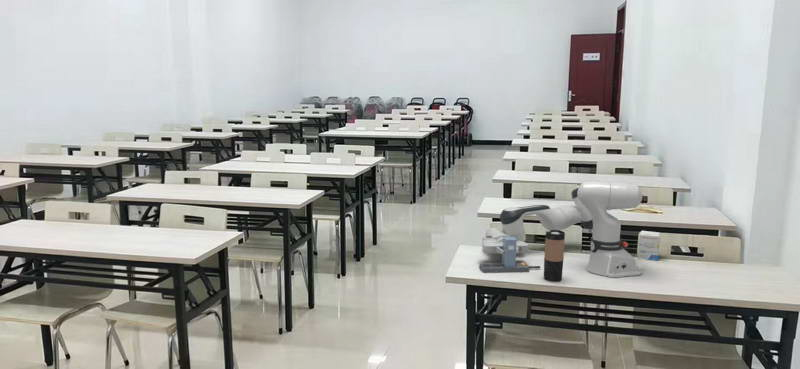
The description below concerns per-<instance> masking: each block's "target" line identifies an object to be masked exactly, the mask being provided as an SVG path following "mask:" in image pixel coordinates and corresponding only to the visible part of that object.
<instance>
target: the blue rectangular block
mask: <svg viewBox="0 0 800 369" xmlns="http://www.w3.org/2000/svg"><path fill="white" fill-rule="evenodd" d="M516 244H517V240H516V239H515V238H514V237H503V249H504V250H505V252H504V253H505V254H501V256H502V257H501V258H502V259H501V263H502V266H503V267H515V264H516V263H517V260H516V259H517V254H516Z"/></svg>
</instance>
